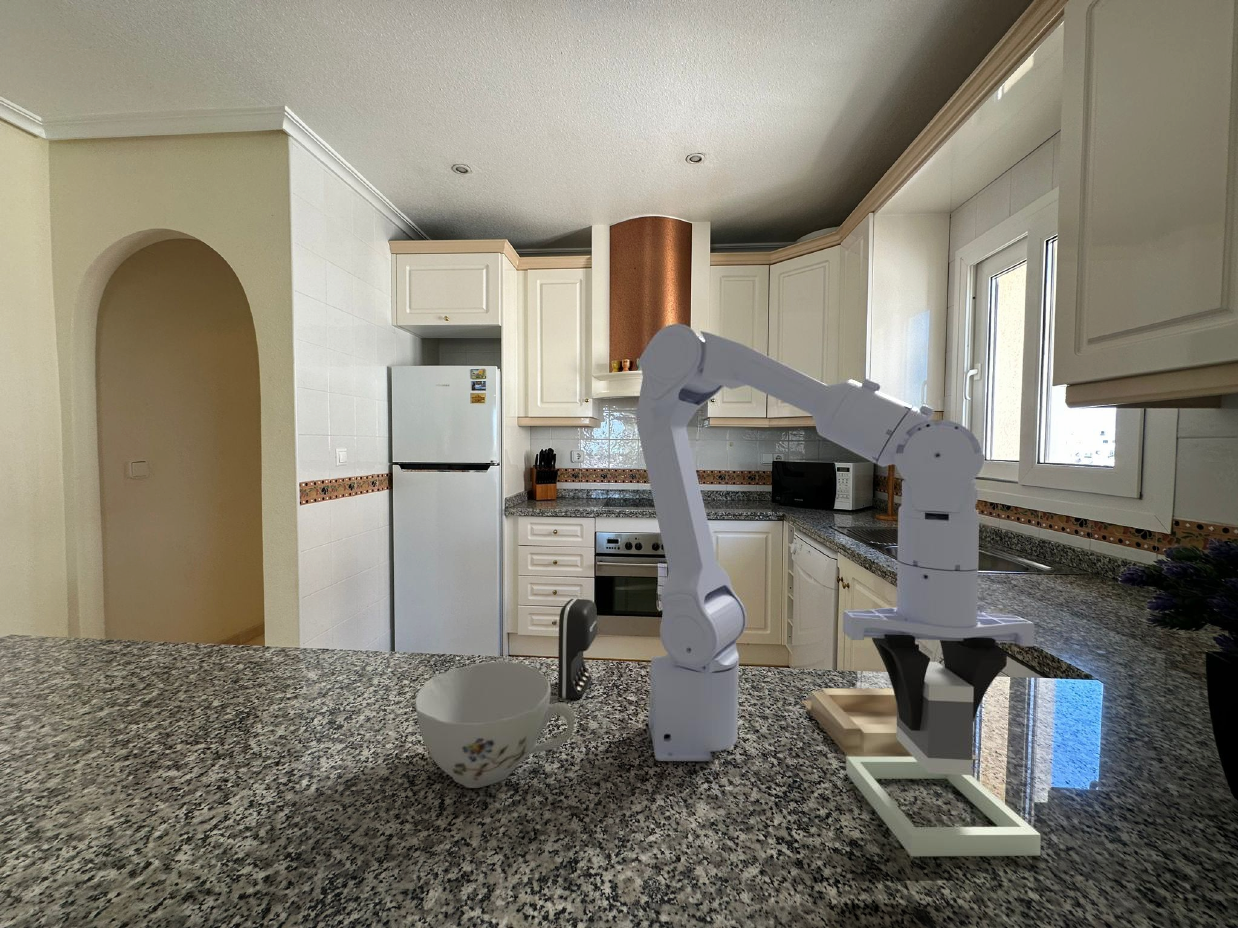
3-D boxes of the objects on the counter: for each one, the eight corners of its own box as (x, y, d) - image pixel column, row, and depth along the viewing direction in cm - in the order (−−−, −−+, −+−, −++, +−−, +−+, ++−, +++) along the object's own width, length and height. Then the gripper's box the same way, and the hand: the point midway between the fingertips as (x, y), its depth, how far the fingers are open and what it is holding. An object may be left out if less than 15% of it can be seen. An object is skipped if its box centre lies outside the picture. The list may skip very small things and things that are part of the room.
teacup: (384, 808, 42) (386, 714, 42) (449, 729, 54) (450, 657, 54) (558, 824, 40) (560, 726, 40) (584, 739, 53) (585, 665, 53)
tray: (911, 868, 36) (911, 835, 36) (846, 783, 46) (846, 756, 46) (1040, 867, 37) (1040, 834, 37) (948, 782, 47) (948, 756, 47)
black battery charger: (586, 703, 61) (587, 610, 61) (556, 700, 61) (558, 608, 61) (598, 679, 68) (599, 596, 68) (571, 676, 68) (572, 594, 68)
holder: (849, 769, 48) (850, 738, 48) (801, 708, 60) (801, 684, 60) (979, 769, 49) (979, 738, 49) (905, 708, 61) (905, 684, 61)
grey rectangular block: (927, 772, 39) (929, 685, 39) (896, 738, 44) (897, 660, 44) (972, 775, 39) (973, 686, 39) (935, 740, 44) (936, 661, 44)
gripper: (993, 557, 45) (991, 706, 45) (830, 553, 46) (828, 699, 46) (1056, 574, 38) (1054, 750, 38) (863, 569, 39) (860, 741, 39)
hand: (933, 725), depth 41 cm, fingers closed on grey rectangular block, 3 cm apart
